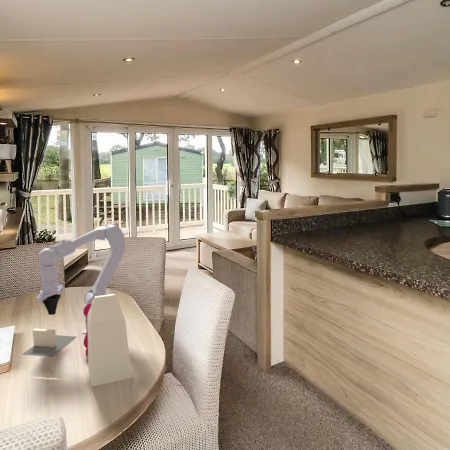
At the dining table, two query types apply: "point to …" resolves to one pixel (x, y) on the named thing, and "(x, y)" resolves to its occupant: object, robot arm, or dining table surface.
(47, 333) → the block
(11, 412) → the dining table surface
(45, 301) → the robot arm
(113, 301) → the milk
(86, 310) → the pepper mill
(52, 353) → the mat
